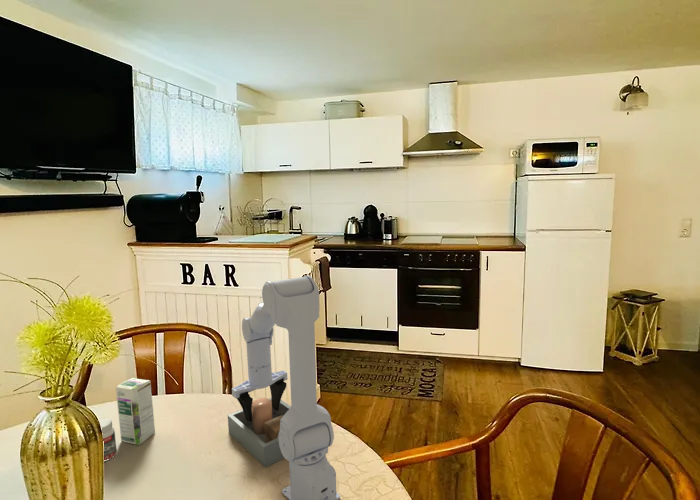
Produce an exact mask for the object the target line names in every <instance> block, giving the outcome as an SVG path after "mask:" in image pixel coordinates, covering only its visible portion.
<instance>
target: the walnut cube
mask: <svg viewBox="0 0 700 500" xmlns="http://www.w3.org/2000/svg"><path fill="white" fill-rule="evenodd" d="M282 417H283V415H281V416H279V417H277V418H274V419H272V420H270V421H267V422H265V423H264V425H265V442H266V443H268V442H270V441H272V440H274V439H276V438H278V435H279V431H280V423H281V422H280V420H281V418H282Z"/></svg>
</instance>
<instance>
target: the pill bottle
mask: <svg viewBox="0 0 700 500" xmlns="http://www.w3.org/2000/svg"><path fill="white" fill-rule="evenodd" d="M98 421H99V422H100V425H101V428H102V433H103V441H104V460H107V459H110V458H112V457H113V456H115V455H116V456H117V454H118V450H117V444H116V443H117V441H116V434H115V433H116V432H115V428H114V427H113V421H112V420H111V419H110V418H101V419H99V420H98ZM116 453H117V454H116ZM116 456H115V457H116ZM112 459H113V458H112ZM110 460H111V459H110Z"/></svg>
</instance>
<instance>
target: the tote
mask: <svg viewBox="0 0 700 500" xmlns="http://www.w3.org/2000/svg"><path fill="white" fill-rule="evenodd" d="M269 399H270V400H271V397H270V398H269ZM271 401H272V400H271ZM290 408H291V404H288V403H286V402H285V401H284V400H282V399H281V401H280V405H279V410H277V411H276V410H275V409H273V408H272V418H273V419H274V418H277V417H279V416H281V415H283V416H284V415H285V413H286V412H287V411H288V410H289V409H290ZM227 425H228V435H230V436H231V437H232V438H233V439H234V440H235V441H236V442H237V443H238V444H239V445H241V446H242V447H243V449H244V450H245V451H247V452H248V453H249V454H250V455H251V456H252V457H253V458H254V459H255V460H256V461H257V462H258V463H259V464H261V465H260V466H263V468H268V467H270V466H271V465H274V464H275V463H279V462H280V461H282V460H283V459H285V458H284V457H283V455H282V452H281V450H280V446H279V440H278V438H276V439H274V440H272V441H270V442H268V443H266V442H265V434H256V433H254V432H253V422H252V421H251V422H249V421H247V420H246V418H245V415H244V412H243V409H242V408H241V409H240V410H237V411H234V412H231V413H229V414H227Z"/></svg>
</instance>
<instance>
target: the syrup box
mask: <svg viewBox="0 0 700 500" xmlns="http://www.w3.org/2000/svg"><path fill="white" fill-rule="evenodd" d="M115 392H116V393H115V394H116V403H117V412H118V421H119V432H120V442H121V441H123V442H122V443H128V444H133V445H137V446H140V445H142V444H143V443H144V442H145V441H146V440H148V439H149V438H150V437H152V436H153V435H154V434H155V433H156V428H155V415H154V406H153V405H154V404H153V396H152V384H151V379H150V380H149V379H142V378H135V377H131V378H129V379H127V380H125V381H123V382H121V383H120V384H118V385H117V386H115Z"/></svg>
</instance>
